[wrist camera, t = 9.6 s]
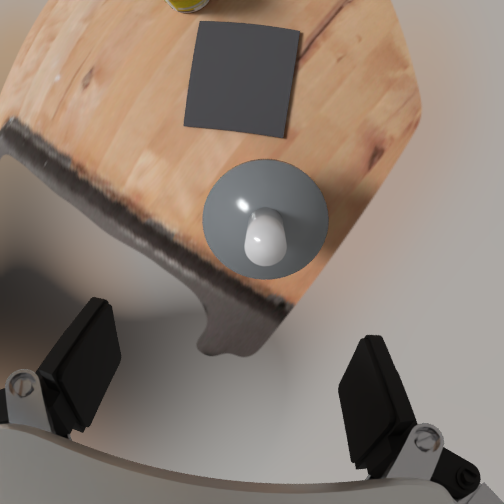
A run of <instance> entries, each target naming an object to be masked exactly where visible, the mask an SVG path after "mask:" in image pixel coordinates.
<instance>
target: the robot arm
mask: <svg viewBox="0 0 504 504" xmlns="http://www.w3.org/2000/svg"><path fill="white" fill-rule="evenodd" d="M120 361H121V352H120V347H119V342H118V337H117V332H116V327H115V321H114V316H113V310H112V306H111V305H110V304H108V301H107V300H105V299H101V298H96V297H92V298H91V299H90V301H89V302H88V303H87V304H86V306H85V307H84V308H83V309H82V311H81V312H80V313H79V314H78V316H77V317H76V318H75V320H74V321H73V322H72V324H71V325H70V326H69V327H68V328H67V330H66V331H65V332H64V333H63V335H62V336H61V337H60V339H59V340H58V341H57V343H56V344H55V346H54V347H53V348H52V350H51V351H50V352H49V354H48V355H47V357H46V358H45V360H44V361H43V363H42V364H41V365H40V367H39V368H38V370H37V371H36V373H34V372H33V371H31V370H27V369H23V370H18V371H15V372H14V373H12V374H11V375H10V376H9V377H8V379H7V381H6V384H5V388H4V389H1V390H0V504H504V503H503V502H502V501H501V500H500V499H499V498H498V496H497V495H496V494H495V493H494V492H493V491H492V490H491V489H490V488H489V487H488V486H487V485H486V484H485V483H482V484H480V480H481V479H480V473H479V470H478V469H477V467H476V466H475V465H473V464H472V463H470V462H469V461H467V460H465V459H463V458H461V457H460V456H458V455H456V454H454V453H453V452H451V451H449V450H448V449H446V448H444V447H443V445H444V440H443V436H442V434H441V432H440V431H439V429H438V428H436V427H435V426H433V425H431V424H428V423H422V424H417V421H416V418H415V415H414V413H413V410H412V407H411V405H410V402H409V399H408V397H407V394H406V391H405V389H404V386H403V384H402V381H401V379H400V376H399V374H398V372H397V370H396V368H395V366H394V364H393V361H392V359H391V356H390V354H389V352H388V349H387V347H386V344H385V342H384V340H383V338H382V337H381V336H379V335H366V336H365V338H362V339H361V340H360V341H359V344H358V346H357V348H356V350H355V352H354V355H353V357H352V359H351V361H350V363H349V365H348V367H347V369H346V372H345V373H344V375H343V377H342V380H341V382H340V384H339V388H338V393H339V398H340V403H341V408H342V413H343V419H344V424H345V430H346V435H347V441H348V446H349V452H350V458H351V462H352V463H355V466H356V469H366V468H367V470H368V474H369V475H368V476H367V478H366V479H365V480H362V481H351V482H339V483H319V484H271V483H253V482H241V481H231V480H222V479H215V478H208V477H201V476H195V475H189V474H184V473H179V472H174V471H169V470H165V469H160V468H156V467H152V466H148V465H144V464H140V463H137V462H133V461H130V460H126V459H123V458H120V457H116V456H113V455H110V454H107V453H104V452H101V451H98V450H95V449H93V448H90V447H87V446H84V445H82V444H79V443H76V442H73V441H72V439H71V437H70V433H71V431H72V429H75V430H77V431H80V432H82V433H83V432H84V430H85V428H86V427H89V426H90V425H91V423H92V420H93V418H94V416H95V414H96V412H97V410H98V407H99V405H100V403H101V401H102V399H103V397H104V395H105V392H106V390H107V388H108V386H109V384H110V382H111V380H112V378H113V376H114V374H115V372H116V370H117V368H118V366H119V364H120Z"/></svg>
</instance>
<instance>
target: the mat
mask: <svg viewBox="0 0 504 504" xmlns="http://www.w3.org/2000/svg"><path fill="white" fill-rule="evenodd" d="M299 34H300V31H297V30H291V29H285V28H279V27H272V26H264V25H255V24H245V23H233V22H215V21H200V23H199V28H198V33H197V38H196V44H195V49H194V55H193V61H192V67H191V74H190V80H189V87H188V94H187V102H186V109H185V117H184V126H188V127H201V128H211V129H221V130H230V131H238V132H246V133H253V134H260V135H267V136H273V137H279V138H283V135H284V129H285V123H286V117H287V111H288V105H289V98H290V92H291V86H292V79H293V73H294V67H295V60H296V54H297V47H298V41H299Z"/></svg>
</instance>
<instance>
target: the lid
mask: <svg viewBox="0 0 504 504" xmlns="http://www.w3.org/2000/svg"><path fill="white" fill-rule="evenodd" d="M328 221H329V218H328V210H327V205H326V202H325V199H324V197H323V195H322V193H321V191H320V189H319V188H318V187H317V185H316V184H315V183H314V181H313V180H312V179H311V178H310V177H309V176H308V175H307V174H306V173H304V172H303V171H302V170H300V169H299V168H297V167H295V166H293V165H291V164H289V163H286V162H283V161H279V160H273V159H258V160H251V161H248V162H245V163H242V164H240V165H238V166H235V167H234V168H232V169H231V170H229V171H228V172H226V173H225V174H224V175H223V176H222V177H221V178H220V179H219V180H218V181H217V182H216V184H215V185H214V186H213V188H212V189H211V191H210V193H209V195H208V197H207V199H206V202H205V205H204V210H203V230H204V234H205V238H206V240H207V243H208V245H209V247H210V249H211V250H212V252H213V253H214V255H215V256H216V257H217V258H218V259H219V260H220V261H221V262H222V263H223V264H224V265H225V266H226V267H228V268H229V269H231V270H232V271H234V272H236V273H238V274H240V275H243V276H246V277H250V278H254V279H277V278H282V277H286V276H288V275H291V274H293V273H295V272H297V271H299V270H301V269H302V268H304V267H305V266H306V265H307V264H309V263H310V262H311V261H312V260H313V259H314V257H315V256H316V255H317V254H318V252H319V251H320V249H321V247H322V245H323V243H324V241H325V238H326V235H327V231H328Z"/></svg>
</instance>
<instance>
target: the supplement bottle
mask: <svg viewBox="0 0 504 504" xmlns="http://www.w3.org/2000/svg"><path fill="white" fill-rule="evenodd" d="M164 1H165V2H166V3H167V4H168V5H169V6H170V7H171V8H172V9H174V10H175V11H178V12H181V13H191V12H195V11H197V10H199V9H201V8H203V7H204V6H205V5H206V4H207V3H208V2H209V0H164Z"/></svg>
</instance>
